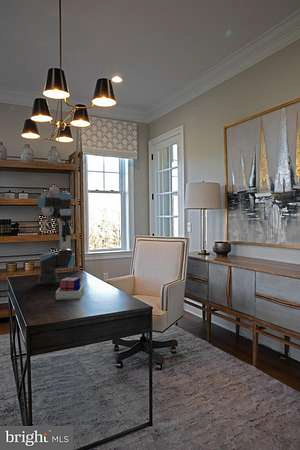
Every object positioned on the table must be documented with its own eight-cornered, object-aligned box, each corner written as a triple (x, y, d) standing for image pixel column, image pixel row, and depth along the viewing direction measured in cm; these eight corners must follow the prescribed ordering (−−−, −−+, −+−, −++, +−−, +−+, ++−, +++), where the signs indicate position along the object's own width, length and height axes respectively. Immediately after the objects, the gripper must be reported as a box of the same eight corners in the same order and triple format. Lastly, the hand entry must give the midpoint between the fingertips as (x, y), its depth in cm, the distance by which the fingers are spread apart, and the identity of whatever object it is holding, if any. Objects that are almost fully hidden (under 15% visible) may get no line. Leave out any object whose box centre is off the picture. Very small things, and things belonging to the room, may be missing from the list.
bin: (61, 292, 227) (61, 285, 227) (83, 291, 229) (83, 284, 228) (55, 299, 208) (55, 291, 208) (80, 298, 210) (79, 291, 209)
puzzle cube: (74, 296, 213) (74, 280, 212) (59, 295, 214) (59, 280, 214) (80, 292, 223) (80, 277, 222) (66, 292, 224) (65, 277, 224)
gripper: (63, 215, 244) (64, 243, 245) (56, 215, 220) (57, 247, 220) (73, 214, 245) (74, 243, 246) (68, 215, 220) (68, 247, 221)
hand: (66, 245), depth 233 cm, fingers open, 13 cm apart
